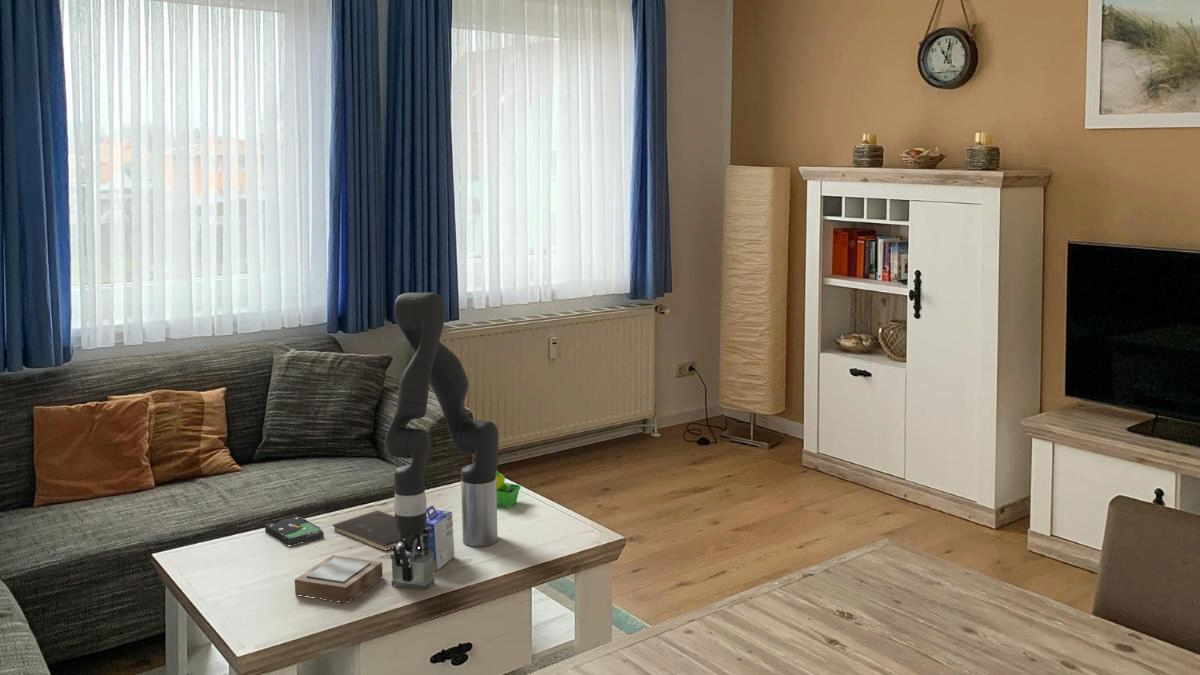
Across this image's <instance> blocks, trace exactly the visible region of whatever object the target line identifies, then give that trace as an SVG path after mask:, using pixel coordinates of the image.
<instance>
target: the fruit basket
mask: <svg viewBox="0 0 1200 675" xmlns="http://www.w3.org/2000/svg"><path fill="white" fill-rule="evenodd" d="M505 480H506V478H505V476H504V474H502V473H500V472H499V471H498V470H497V471H496V500H497V507H502V508H503V507H504V508H510V507H511V506H512V505H514V504H515V503H517V501H518V496H519V492H520V490H521V487H522V485H520V484H513V483H509V482H505Z"/></svg>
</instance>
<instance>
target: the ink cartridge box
mask: <svg viewBox="0 0 1200 675" xmlns="http://www.w3.org/2000/svg"><path fill="white" fill-rule="evenodd" d="M431 510H433V511H431ZM426 511H427V527H426V528H429V541H428V551H433V552H434V556H433V571H439V569H441V567H443V566H444V565H445V564H446V563H448V562H449V561H450V560H452V559H453V558H454V557H455V543H454V524H453V511H447V510H439V509H436V508H435V507H434V505H431V506H429V507H428V508H427V507H426ZM430 511H431V512H430ZM423 544H424V543H423Z"/></svg>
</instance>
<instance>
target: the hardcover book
mask: <svg viewBox="0 0 1200 675" xmlns="http://www.w3.org/2000/svg"><path fill="white" fill-rule="evenodd" d="M331 526H333V528H334V530H335V532H337V531H338V532H337V533H339V532H341V533H340V534H342V533H343V534H342V535H344V534H346V535H345V536H347V535H349V536H351V537H350V538H352V537H354V538H357V539H359V540H362V541H365V542H367V543H370V544H372V545H375V546H377V547H379V548H382V549H384V550H385V549H388V548H392V547H393V546H394V545H398V544H399V543H400V532H399V531H397V530H396V528H395V515H392V514H389V513H387V512H384V511H382V510H379V509H378V510H375V511H372V512H368V513H365V514H362V515H359V516H356V517H352V518H350V519H346V520H343V521H339V522H337V523H334V524H332V525H331ZM349 536H348V537H349ZM354 538H353V539H354ZM357 539H356V540H357ZM359 540H358V541H359ZM362 541H361V542H362ZM367 543H366V544H367ZM372 545H371V546H372ZM377 547H376V548H377ZM379 548H378V549H379ZM382 549H381V550H382ZM392 549H393V548H392ZM384 550H383V551H384Z"/></svg>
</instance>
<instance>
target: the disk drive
mask: <svg viewBox="0 0 1200 675" xmlns="http://www.w3.org/2000/svg"><path fill="white" fill-rule="evenodd" d="M264 530H265V533H266V534H268V535H270V536H272V537H274V538H275V539H276V540H280V542H281V541H282V543H283V542H284V543H285V544H284V543H283V544H284V545H286V544H287V545H293V546H295V545H294V544H296V545H299V544H298V543H300V544H302V543H301V542H304V543H307V542H306V541H308V542H310V541H309V540H312V541H315V540H318V538H319V539H322V538H321V537H323V538H324V531H323V530H322V528H321V527H319V526H317V525H316V524H314V523H313V522H310V521H308V520H307V519H305V518H303V517H302V516H300V515H297V516H294V517H290V518H285V519H280V520H279V521H277V522H269V523H268V522H267V523H265V524H264ZM314 539H315V540H314ZM287 545H286V546H287Z"/></svg>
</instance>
